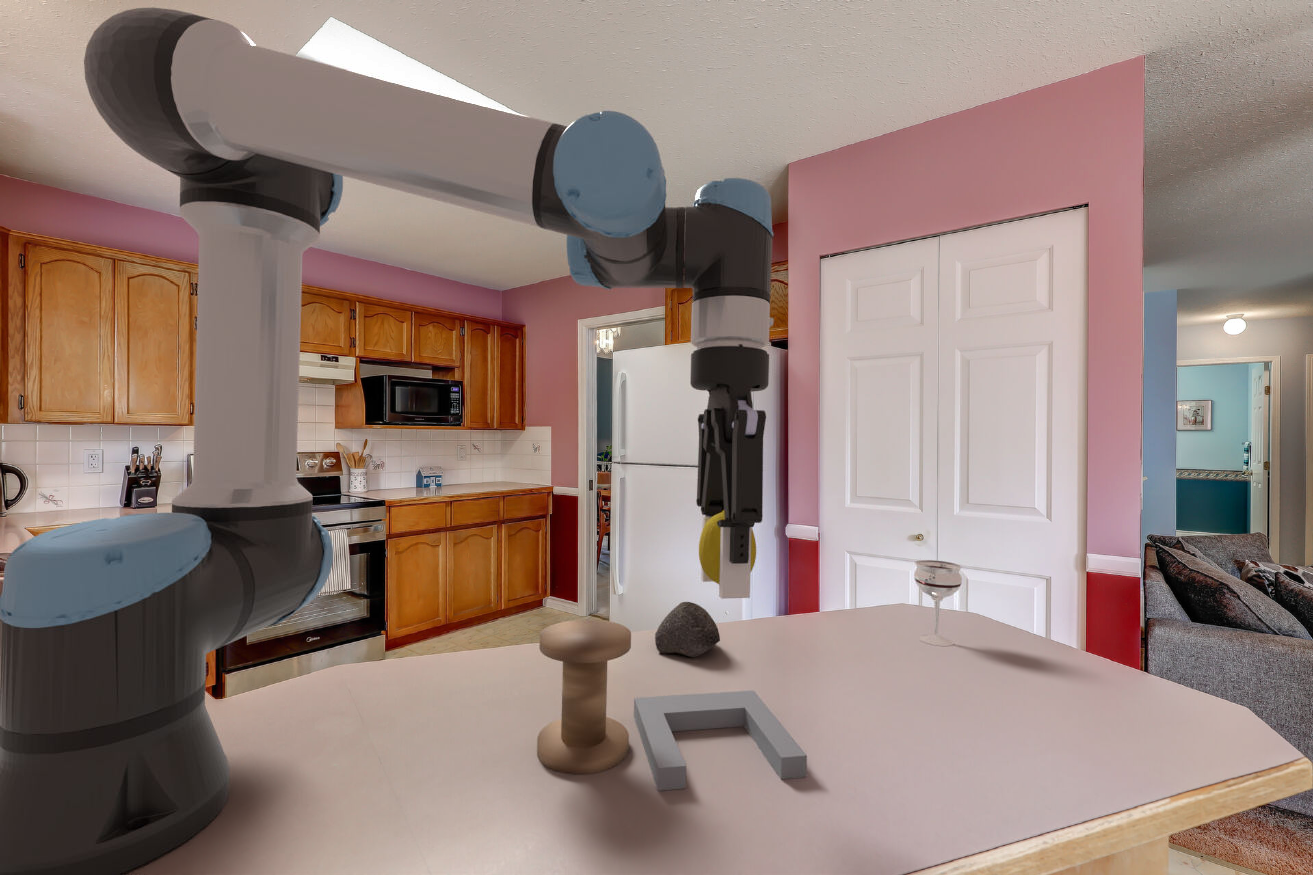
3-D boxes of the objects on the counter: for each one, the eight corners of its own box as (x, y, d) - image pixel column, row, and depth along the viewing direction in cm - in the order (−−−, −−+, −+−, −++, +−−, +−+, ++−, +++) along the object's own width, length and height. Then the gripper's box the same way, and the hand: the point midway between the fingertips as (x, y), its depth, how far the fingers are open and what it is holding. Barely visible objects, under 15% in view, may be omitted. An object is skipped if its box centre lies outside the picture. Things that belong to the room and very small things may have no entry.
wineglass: (959, 637, 94) (960, 562, 94) (961, 650, 88) (963, 571, 88) (912, 630, 97) (914, 558, 97) (912, 643, 91) (914, 566, 91)
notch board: (657, 790, 52) (658, 767, 52) (633, 715, 65) (634, 697, 65) (806, 776, 54) (806, 755, 54) (753, 707, 68) (753, 690, 68)
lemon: (754, 600, 54) (756, 513, 54) (694, 596, 55) (695, 511, 55) (756, 585, 59) (757, 506, 59) (701, 581, 60) (702, 504, 60)
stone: (658, 664, 90) (635, 633, 84) (685, 617, 94) (665, 584, 88) (712, 691, 84) (692, 660, 78) (739, 640, 89) (722, 606, 82)
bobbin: (536, 778, 53) (539, 652, 53) (537, 728, 62) (540, 621, 62) (634, 769, 55) (637, 647, 55) (622, 723, 64) (624, 618, 64)
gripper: (808, 335, 49) (801, 616, 49) (736, 362, 67) (731, 566, 67) (721, 330, 47) (714, 619, 47) (671, 359, 65) (666, 567, 65)
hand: (724, 587), depth 57 cm, fingers closed on lemon, 5 cm apart
